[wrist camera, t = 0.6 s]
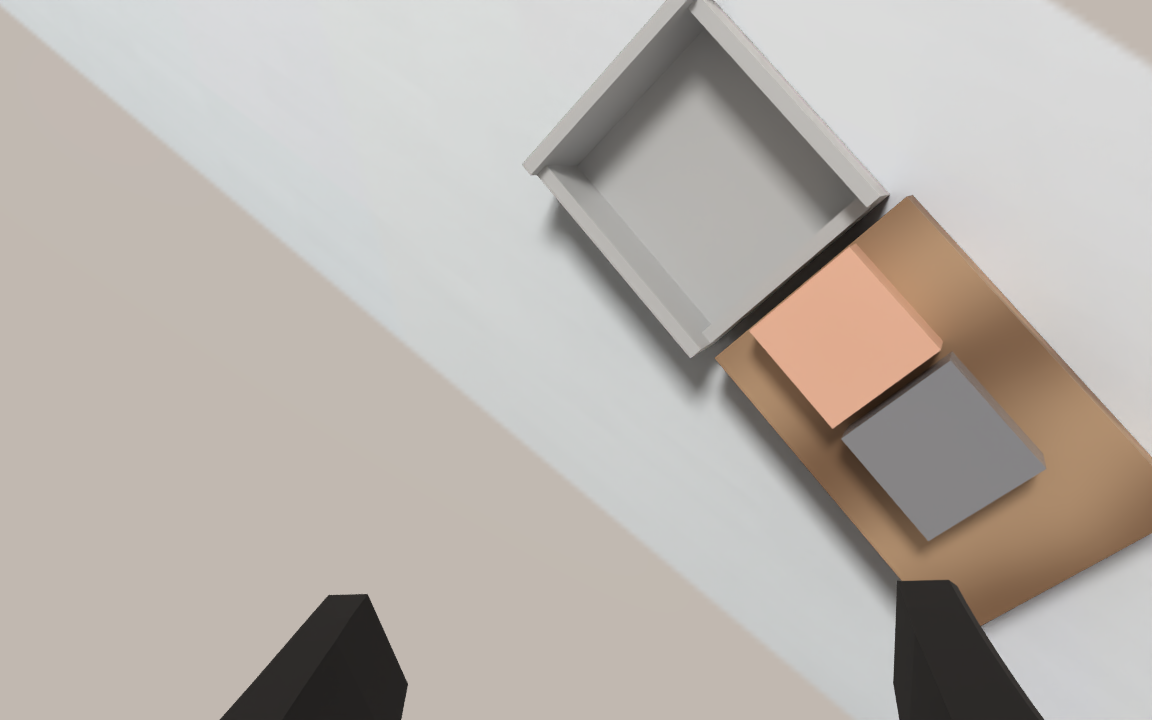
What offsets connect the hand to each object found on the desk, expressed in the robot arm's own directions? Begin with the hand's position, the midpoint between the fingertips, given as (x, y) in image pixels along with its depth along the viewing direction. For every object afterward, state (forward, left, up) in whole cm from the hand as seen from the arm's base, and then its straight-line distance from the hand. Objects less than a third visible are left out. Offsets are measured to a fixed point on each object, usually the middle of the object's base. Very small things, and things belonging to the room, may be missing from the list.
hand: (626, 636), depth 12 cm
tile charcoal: (-4, -1, -18) cm, 19 cm away
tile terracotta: (+1, -1, -18) cm, 18 cm away
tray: (+8, -1, -21) cm, 22 cm away
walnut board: (-3, -1, -21) cm, 21 cm away
